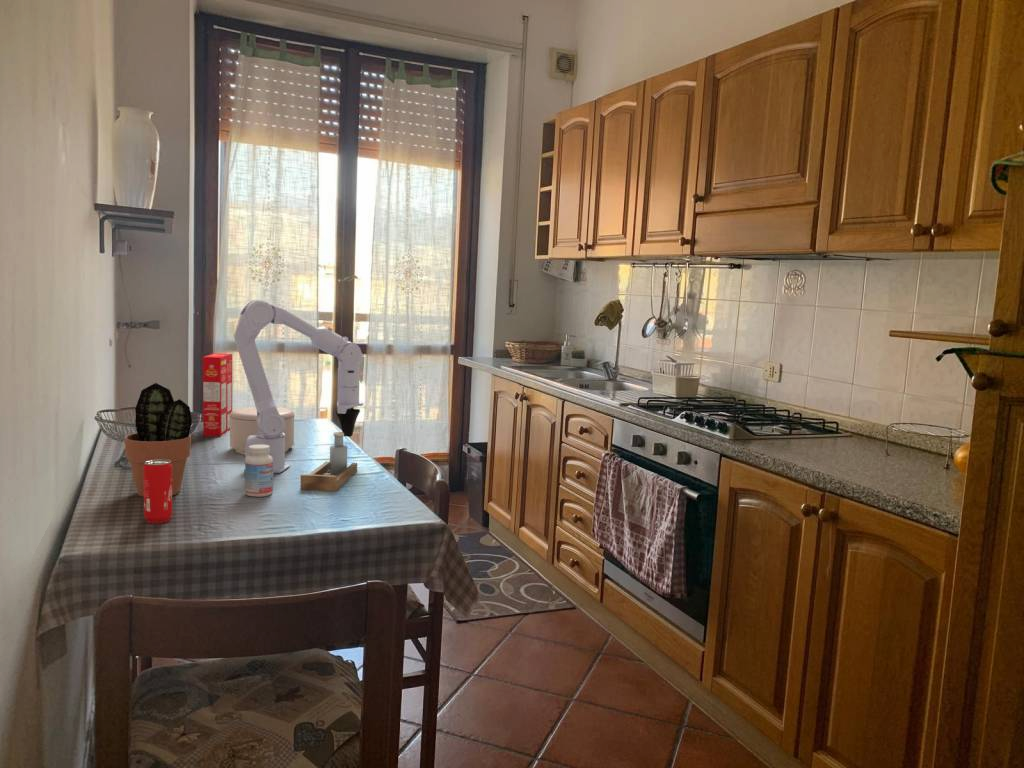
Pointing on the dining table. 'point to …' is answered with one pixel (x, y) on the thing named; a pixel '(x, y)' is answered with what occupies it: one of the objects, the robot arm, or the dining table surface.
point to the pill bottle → (259, 471)
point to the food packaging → (217, 393)
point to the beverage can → (157, 490)
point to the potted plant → (159, 435)
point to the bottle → (338, 455)
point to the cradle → (326, 478)
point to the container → (256, 427)
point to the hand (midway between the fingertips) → (347, 436)
